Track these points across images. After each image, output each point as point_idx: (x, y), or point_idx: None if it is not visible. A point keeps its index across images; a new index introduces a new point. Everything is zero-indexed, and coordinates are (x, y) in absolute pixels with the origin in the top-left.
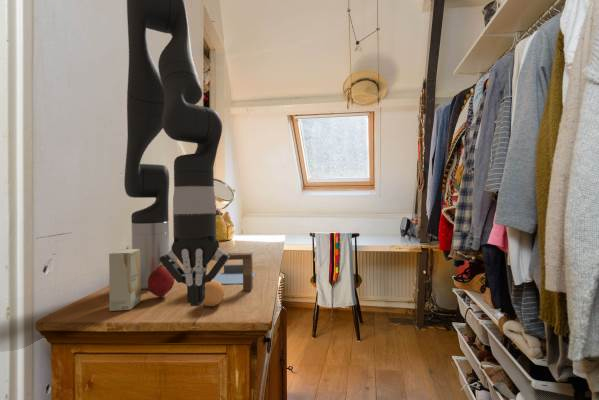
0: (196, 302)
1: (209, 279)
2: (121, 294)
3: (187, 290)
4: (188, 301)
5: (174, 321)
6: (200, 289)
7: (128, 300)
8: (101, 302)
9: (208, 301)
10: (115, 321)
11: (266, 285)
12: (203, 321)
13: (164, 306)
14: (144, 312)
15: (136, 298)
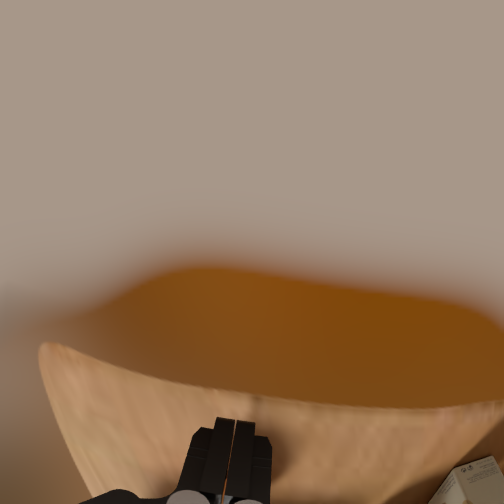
0: (224, 427)
1: (113, 498)
2: (484, 491)
3: (269, 486)
4: (267, 441)
5: (331, 412)
6: (193, 477)
7: (465, 484)
8: None
9: (225, 485)
10: (488, 412)
11: None
12: (224, 396)
13: (371, 490)
14: (422, 461)
15: (442, 501)
